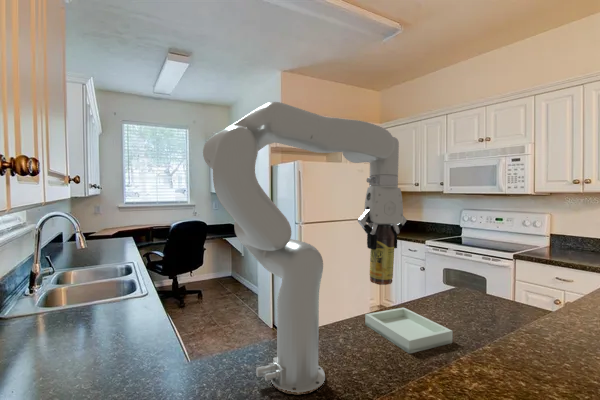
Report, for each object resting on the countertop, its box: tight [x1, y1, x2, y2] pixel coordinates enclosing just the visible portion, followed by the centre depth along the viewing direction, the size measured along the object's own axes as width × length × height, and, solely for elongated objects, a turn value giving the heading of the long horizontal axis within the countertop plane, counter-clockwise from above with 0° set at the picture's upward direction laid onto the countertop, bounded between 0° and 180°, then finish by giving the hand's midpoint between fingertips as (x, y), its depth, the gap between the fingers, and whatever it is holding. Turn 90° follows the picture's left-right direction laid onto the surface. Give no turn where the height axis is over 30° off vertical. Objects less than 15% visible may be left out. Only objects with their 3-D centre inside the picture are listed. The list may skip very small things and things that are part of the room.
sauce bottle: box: [369, 224, 395, 286], centre depth 85 cm, size 7×6×20 cm
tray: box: [364, 307, 454, 355], centre depth 95 cm, size 16×20×4 cm
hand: (382, 247), depth 85 cm, fingers closed on sauce bottle, 6 cm apart
